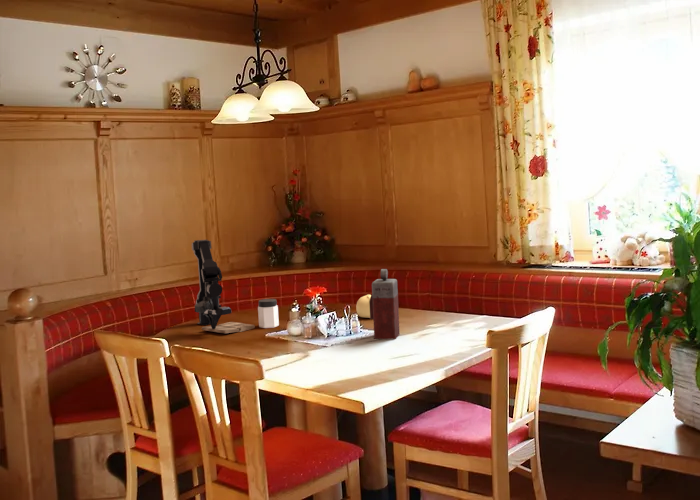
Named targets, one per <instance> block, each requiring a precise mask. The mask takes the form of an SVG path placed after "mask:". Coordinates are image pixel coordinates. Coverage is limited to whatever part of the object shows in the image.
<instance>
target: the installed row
mask: <svg viewBox="0 0 700 500" xmlns="http://www.w3.org/2000/svg"><path fill="white" fill-rule="evenodd" d="M217 326H223V327H230V328H237V329H239V333H241V332H242V333H243V332H245V331H250V330H252V329H253V330H254V329H255V327H256V326H255V324H250V323H243V322H236V321H229V322H228V321H227V322H225V323H220V324H217Z"/></svg>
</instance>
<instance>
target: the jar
mask: <svg viewBox="0 0 700 500" xmlns="http://www.w3.org/2000/svg"><path fill="white" fill-rule="evenodd" d="M277 303H278V302H277V299H276V298H264V299H260V300H258V306H257V313H258V327H259V328H262V329H273V328H276V327H278V326H279V325H280V321H279V305H277Z"/></svg>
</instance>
